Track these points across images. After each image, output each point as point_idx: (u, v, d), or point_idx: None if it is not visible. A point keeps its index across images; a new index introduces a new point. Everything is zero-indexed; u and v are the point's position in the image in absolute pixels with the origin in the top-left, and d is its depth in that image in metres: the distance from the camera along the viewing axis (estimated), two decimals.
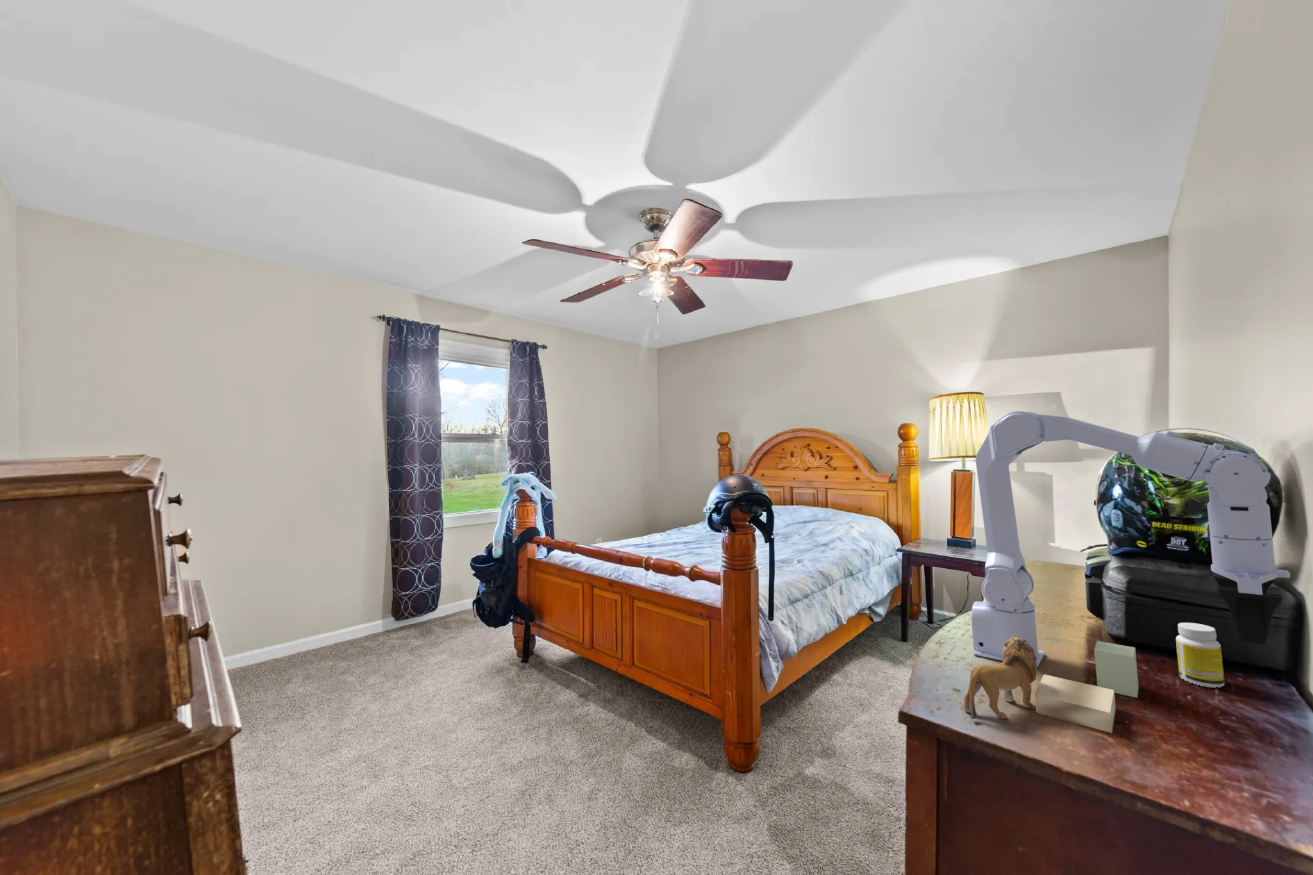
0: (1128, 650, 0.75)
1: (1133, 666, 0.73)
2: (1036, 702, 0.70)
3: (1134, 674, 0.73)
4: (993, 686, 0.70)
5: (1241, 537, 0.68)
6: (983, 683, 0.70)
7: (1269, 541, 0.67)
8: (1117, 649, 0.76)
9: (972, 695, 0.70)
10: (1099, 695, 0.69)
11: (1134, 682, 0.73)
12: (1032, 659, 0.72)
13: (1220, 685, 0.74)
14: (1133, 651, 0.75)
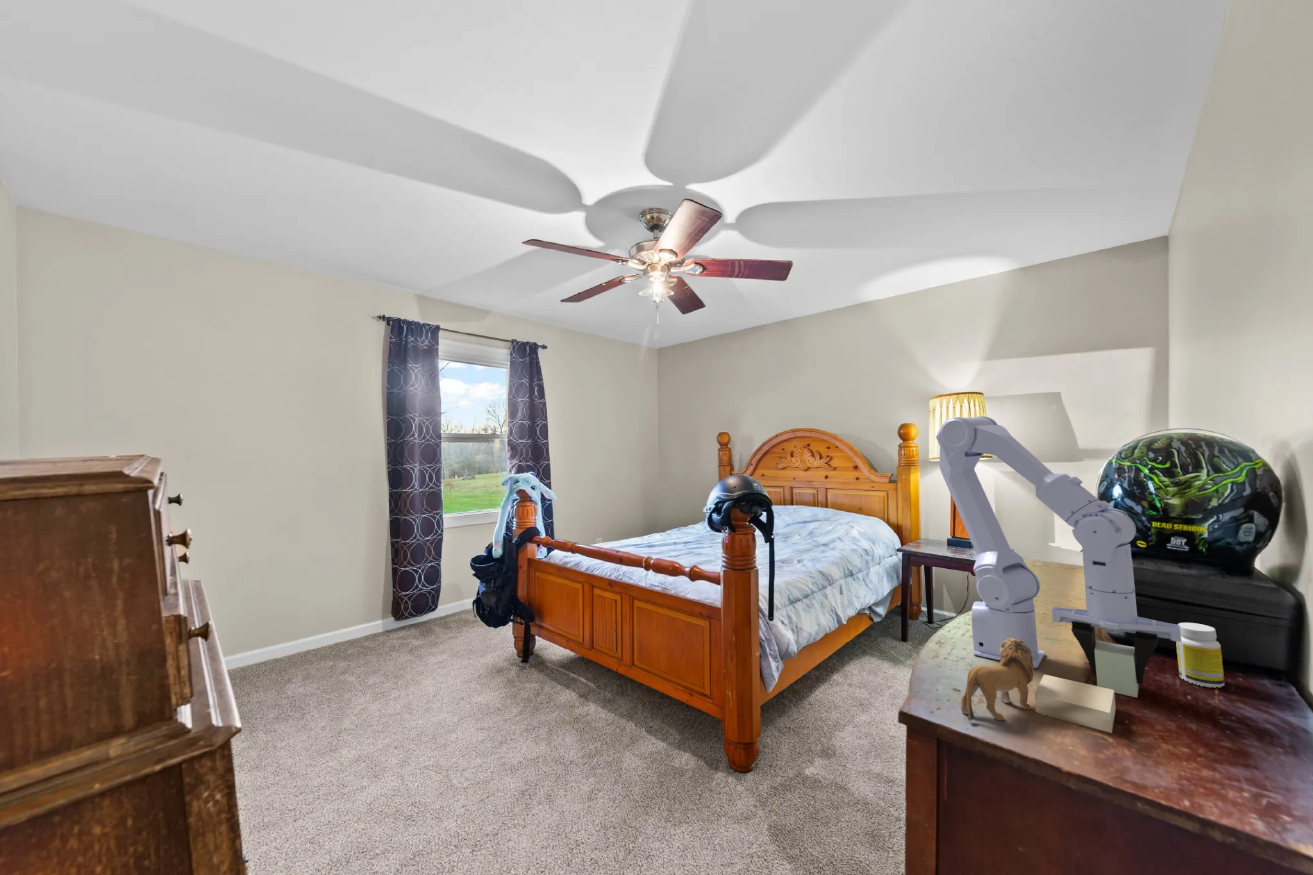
0: (1128, 650, 0.75)
1: (1133, 666, 0.73)
2: (1036, 702, 0.70)
3: (1134, 674, 0.73)
4: (990, 687, 0.70)
5: (1100, 589, 0.75)
6: (980, 684, 0.70)
7: (1095, 592, 0.76)
8: (1117, 649, 0.76)
9: (969, 696, 0.70)
10: (1099, 695, 0.69)
11: (1134, 682, 0.73)
12: (1029, 660, 0.72)
13: (1220, 685, 0.74)
14: (1133, 651, 0.75)
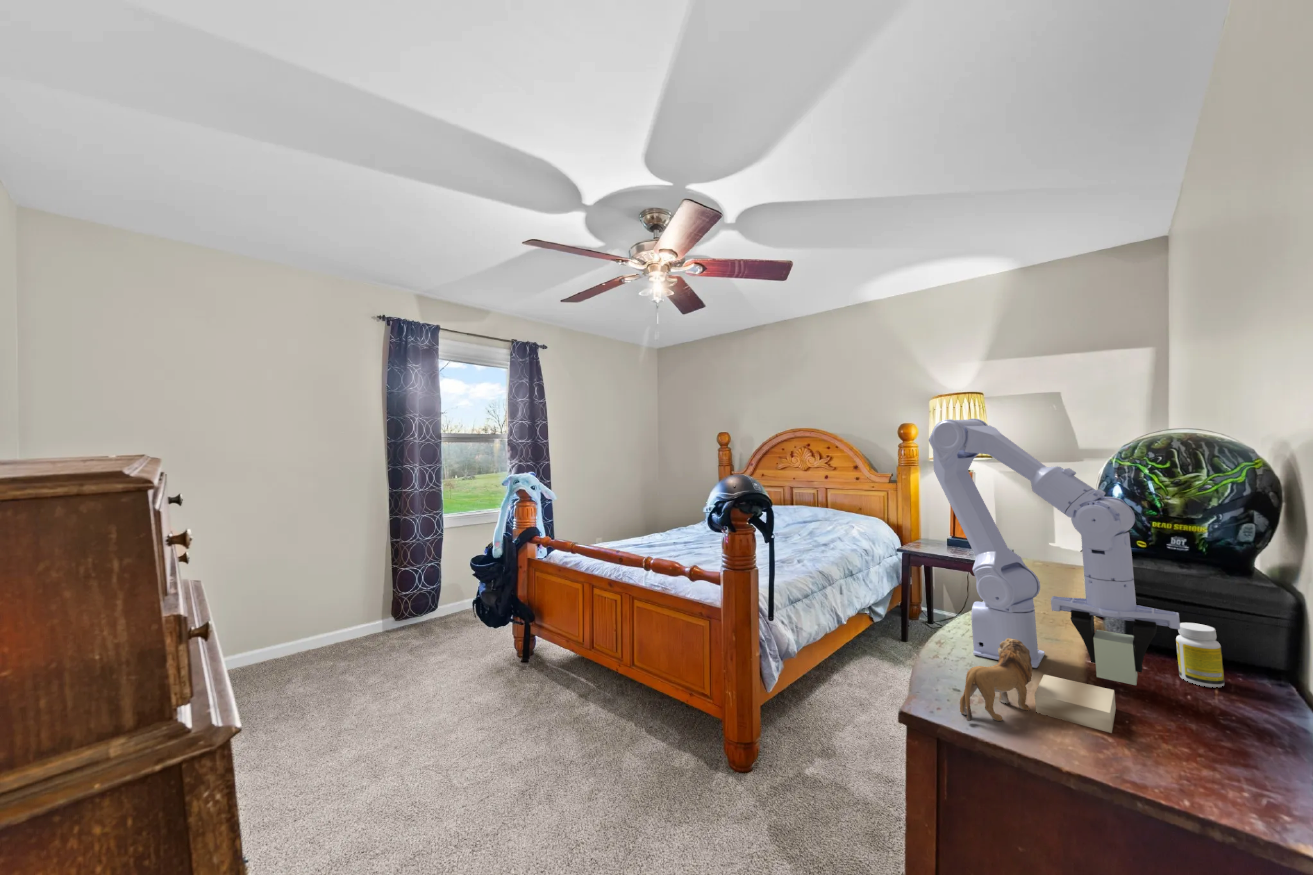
0: (1127, 638, 0.75)
1: (1132, 653, 0.73)
2: (1036, 702, 0.70)
3: (1133, 661, 0.73)
4: (989, 688, 0.69)
5: (1099, 577, 0.75)
6: (979, 685, 0.70)
7: (1094, 580, 0.76)
8: (1116, 637, 0.76)
9: (968, 697, 0.70)
10: (1099, 695, 0.69)
11: (1133, 669, 0.73)
12: (1027, 660, 0.72)
13: (1220, 685, 0.74)
14: (1132, 639, 0.75)
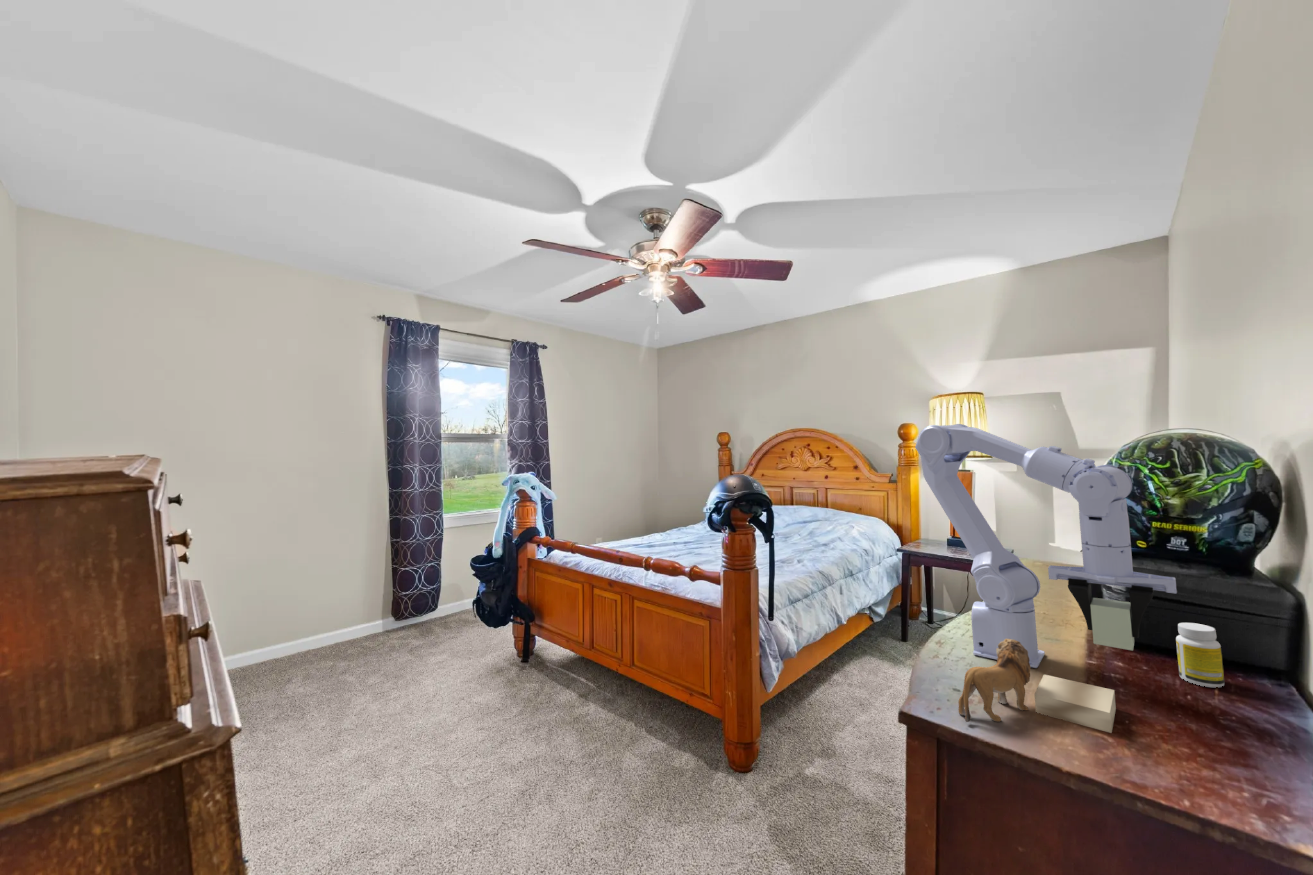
0: (1124, 604, 0.76)
1: (1129, 619, 0.73)
2: (1036, 702, 0.71)
3: (1130, 627, 0.73)
4: (987, 688, 0.69)
5: (1096, 544, 0.75)
6: (977, 686, 0.70)
7: (1092, 547, 0.76)
8: (1113, 604, 0.76)
9: (966, 698, 0.70)
10: (1099, 695, 0.69)
11: (1130, 635, 0.73)
12: (1026, 661, 0.72)
13: (1220, 685, 0.74)
14: (1129, 605, 0.75)
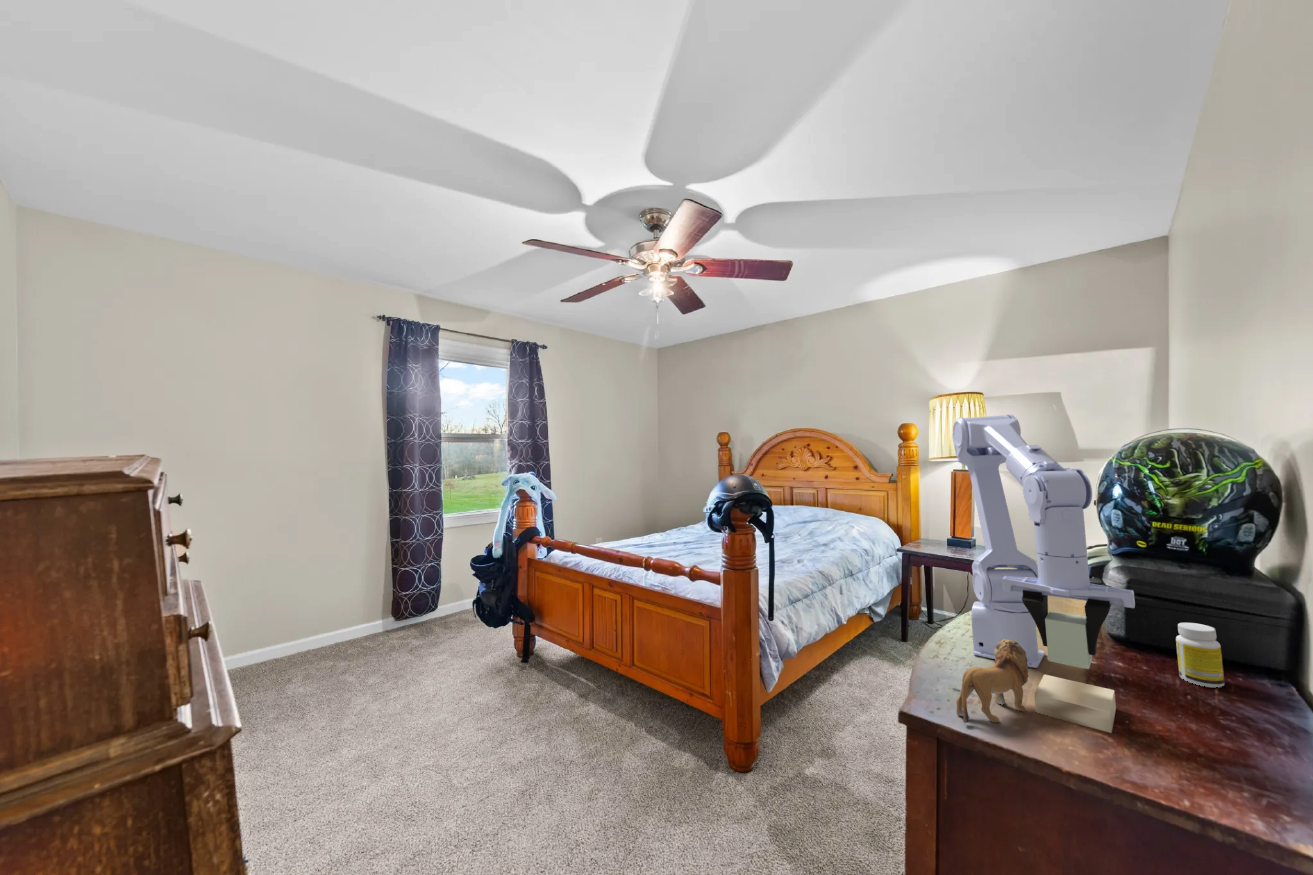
0: (1080, 619, 0.70)
1: (1084, 635, 0.68)
2: (1036, 702, 0.71)
3: (1085, 644, 0.68)
4: (985, 689, 0.69)
5: (1038, 551, 0.72)
6: (975, 686, 0.69)
7: (1046, 557, 0.71)
8: (1069, 618, 0.71)
9: (964, 699, 0.70)
10: (1099, 695, 0.69)
11: (1085, 652, 0.68)
12: (1024, 661, 0.72)
13: (1220, 685, 0.74)
14: None
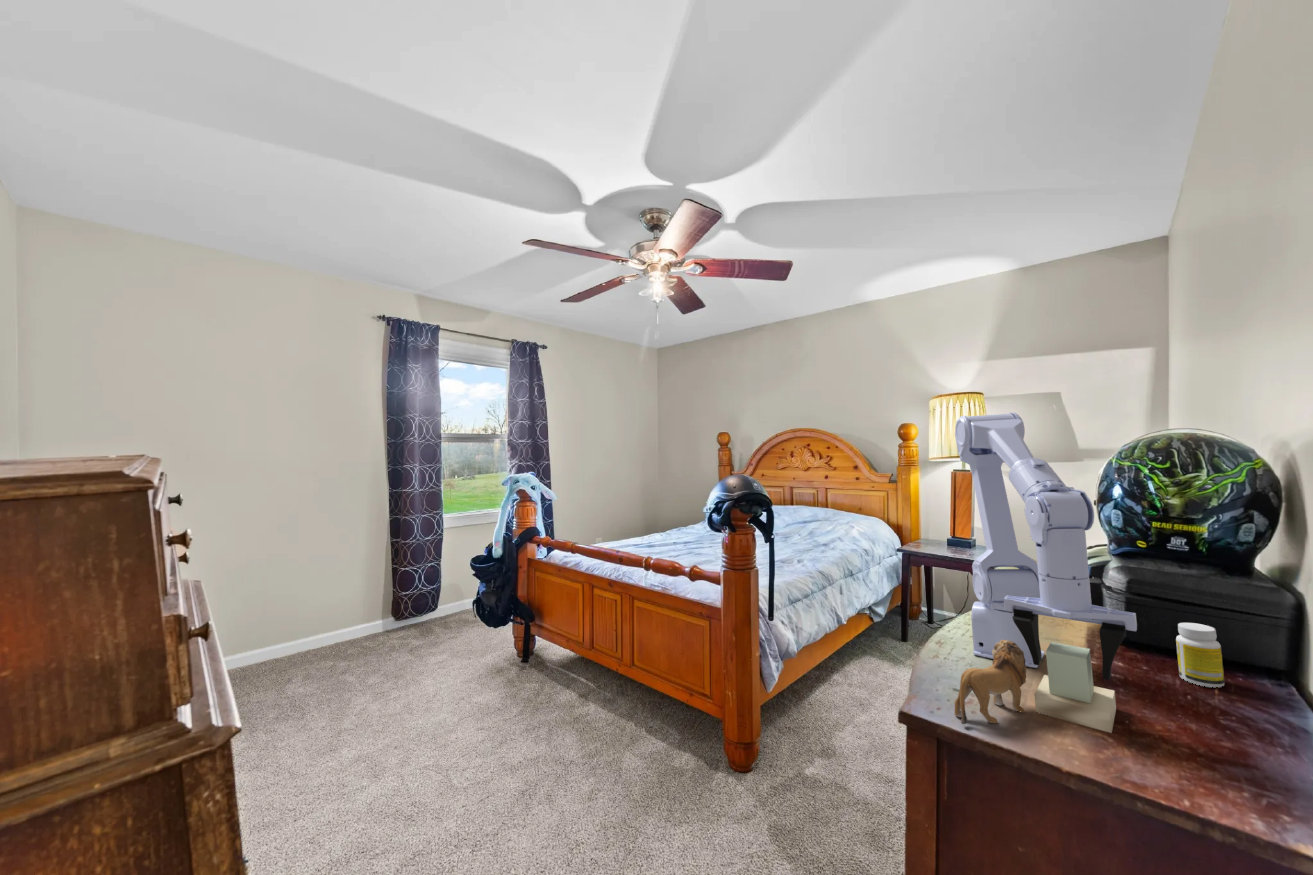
0: (1082, 651, 0.70)
1: (1085, 669, 0.68)
2: (1036, 703, 0.71)
3: (1087, 677, 0.68)
4: (983, 690, 0.69)
5: (1039, 572, 0.72)
6: (973, 687, 0.69)
7: (1048, 578, 0.70)
8: (1070, 651, 0.70)
9: (962, 700, 0.69)
10: (1099, 695, 0.69)
11: (1087, 686, 0.68)
12: (1022, 662, 0.72)
13: (1220, 685, 0.74)
14: (1087, 652, 0.69)
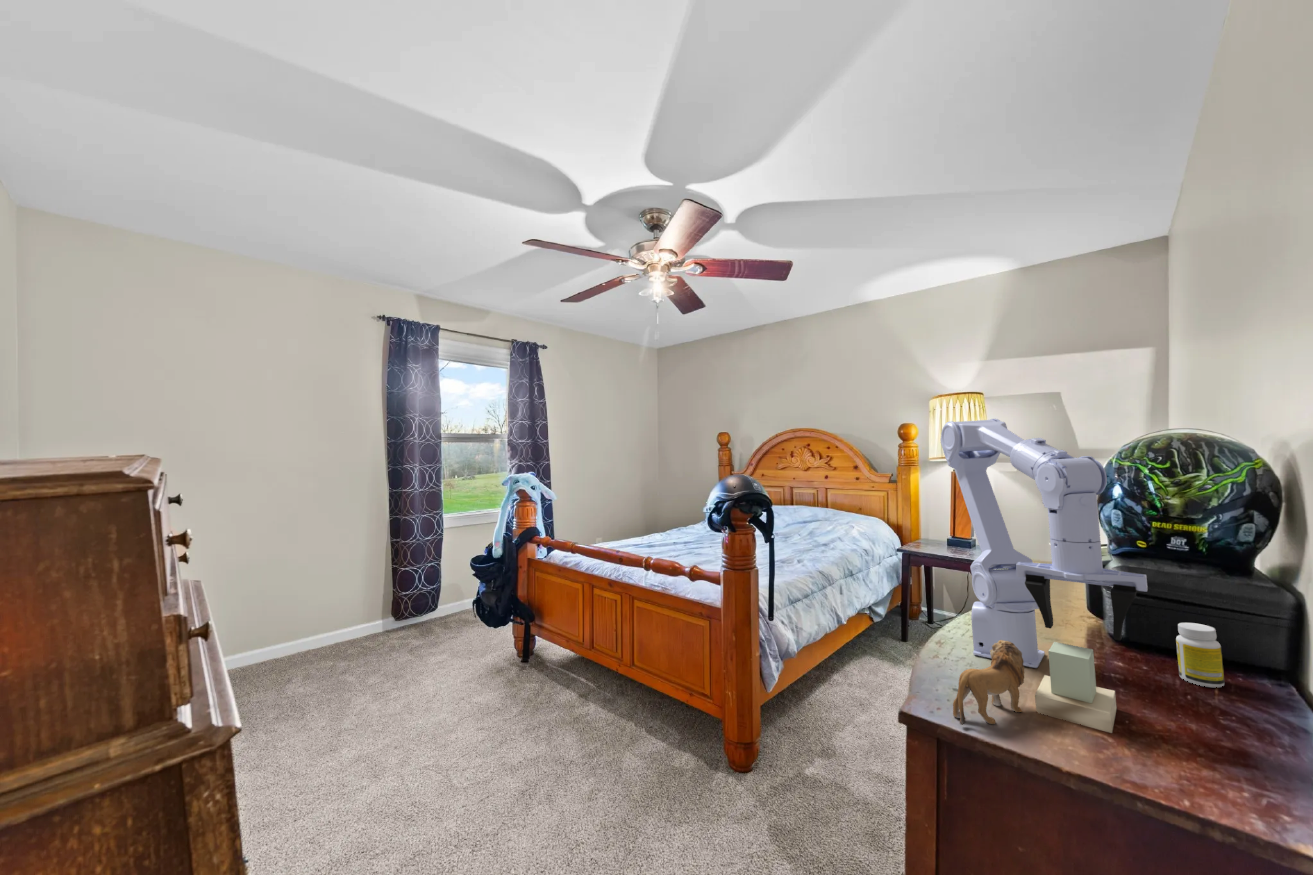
0: (1084, 652, 0.70)
1: (1088, 669, 0.68)
2: (1036, 703, 0.71)
3: (1089, 678, 0.68)
4: (982, 691, 0.69)
5: (1053, 537, 0.73)
6: (972, 688, 0.69)
7: (1059, 542, 0.72)
8: (1073, 651, 0.70)
9: (961, 700, 0.69)
10: (1100, 696, 0.69)
11: (1089, 686, 0.68)
12: (1020, 662, 0.72)
13: (1220, 685, 0.74)
14: (1090, 653, 0.69)
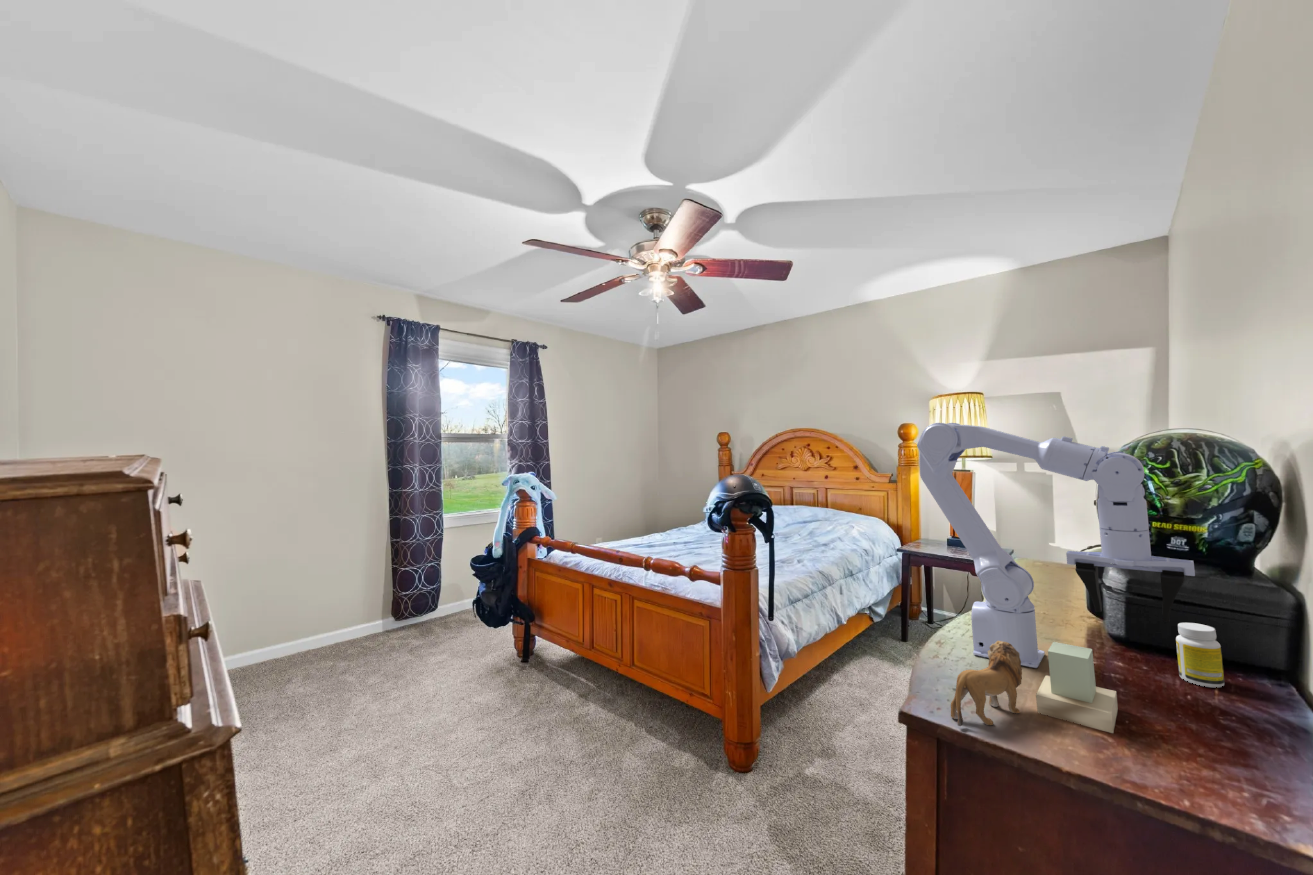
0: (1084, 652, 0.70)
1: (1087, 669, 0.68)
2: (1037, 703, 0.70)
3: (1088, 677, 0.68)
4: (980, 692, 0.68)
5: (1121, 529, 0.76)
6: (970, 689, 0.69)
7: (1110, 531, 0.77)
8: (1072, 651, 0.70)
9: (959, 701, 0.69)
10: (1101, 696, 0.69)
11: (1088, 686, 0.68)
12: (1017, 663, 0.71)
13: (1220, 685, 0.74)
14: (1089, 653, 0.70)
